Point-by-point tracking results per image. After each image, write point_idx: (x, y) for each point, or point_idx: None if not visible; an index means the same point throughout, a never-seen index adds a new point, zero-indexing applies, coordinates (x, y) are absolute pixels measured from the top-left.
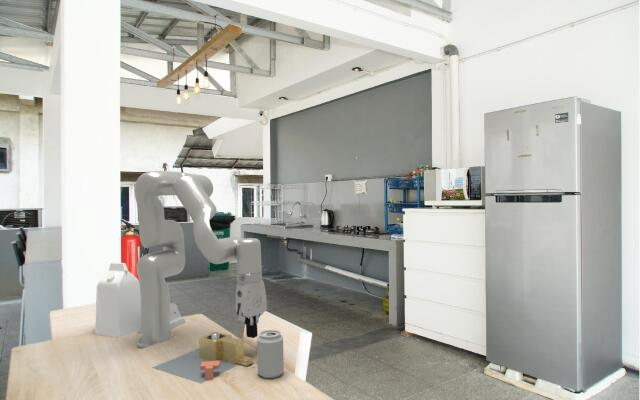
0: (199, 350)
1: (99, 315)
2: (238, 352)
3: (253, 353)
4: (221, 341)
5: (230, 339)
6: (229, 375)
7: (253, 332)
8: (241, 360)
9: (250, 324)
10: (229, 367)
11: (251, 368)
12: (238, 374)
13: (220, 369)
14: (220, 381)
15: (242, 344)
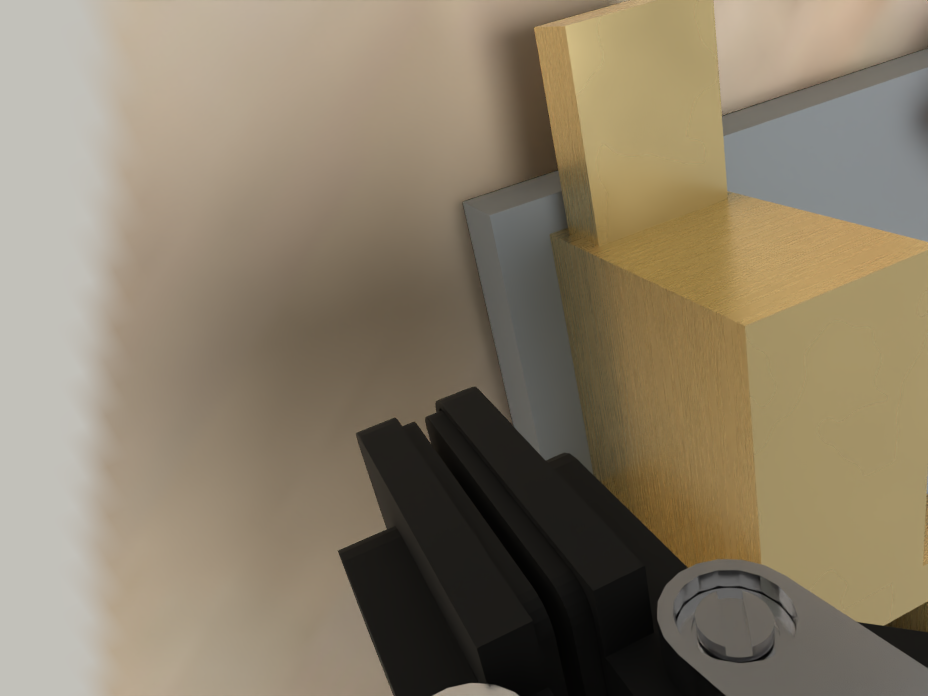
0: None
1: None
2: (745, 230)
3: (194, 513)
4: (917, 526)
5: (822, 521)
6: (787, 72)
7: (528, 459)
8: (718, 98)
9: (783, 588)
10: (791, 148)
11: (513, 52)
12: (719, 13)
13: (870, 171)
14: (921, 2)
15: (730, 293)
